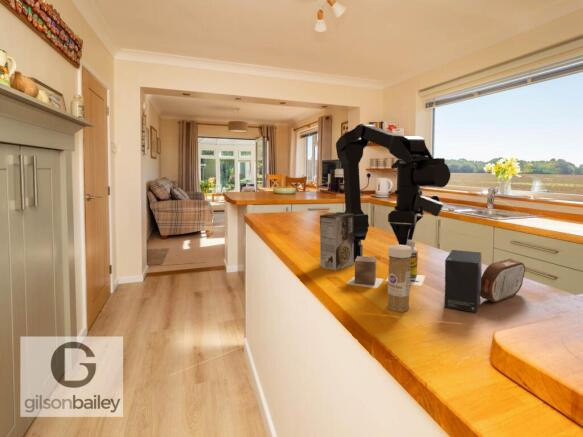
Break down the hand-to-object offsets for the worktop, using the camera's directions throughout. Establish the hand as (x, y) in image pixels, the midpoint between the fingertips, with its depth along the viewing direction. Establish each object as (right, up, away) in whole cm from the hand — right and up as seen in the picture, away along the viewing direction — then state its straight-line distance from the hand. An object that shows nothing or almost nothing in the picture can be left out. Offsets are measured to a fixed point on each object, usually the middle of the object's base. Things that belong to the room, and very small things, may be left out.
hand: (406, 245), depth 90 cm
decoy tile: (-11, -10, -1) cm, 15 cm away
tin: (+17, -11, -14) cm, 24 cm away
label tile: (0, -9, +1) cm, 9 cm away
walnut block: (-11, -9, -1) cm, 15 cm away
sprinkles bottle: (-8, -12, -18) cm, 23 cm away
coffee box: (-16, -8, +15) cm, 23 cm away
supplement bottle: (0, -9, +1) cm, 9 cm away
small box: (+7, -11, -16) cm, 21 cm away
